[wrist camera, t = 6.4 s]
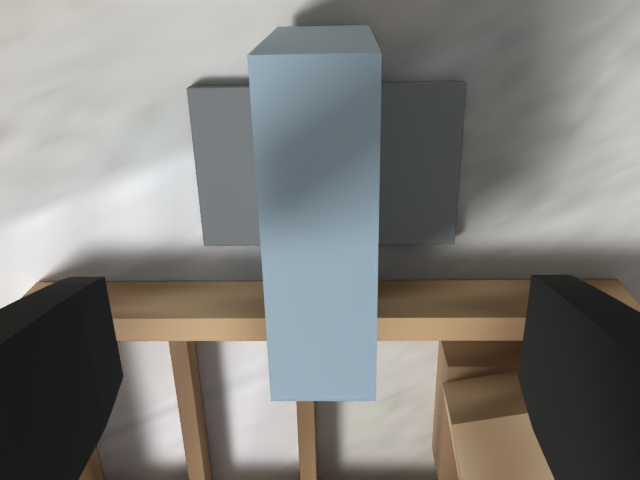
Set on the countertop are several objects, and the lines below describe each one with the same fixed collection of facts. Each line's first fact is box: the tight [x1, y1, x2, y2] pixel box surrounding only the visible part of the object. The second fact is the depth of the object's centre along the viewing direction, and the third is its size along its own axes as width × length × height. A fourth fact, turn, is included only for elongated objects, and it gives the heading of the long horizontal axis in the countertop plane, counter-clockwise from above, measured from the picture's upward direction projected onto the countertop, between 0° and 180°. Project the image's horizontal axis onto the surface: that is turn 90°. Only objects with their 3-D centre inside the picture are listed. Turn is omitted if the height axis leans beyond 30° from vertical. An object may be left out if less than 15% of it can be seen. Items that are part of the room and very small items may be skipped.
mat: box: [187, 81, 466, 246], centre depth 19 cm, size 8×5×1 cm, turn 91°
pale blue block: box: [247, 25, 382, 401], centre depth 16 cm, size 2×8×6 cm, turn 2°
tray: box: [22, 279, 640, 480], centre depth 21 cm, size 20×10×2 cm, turn 91°
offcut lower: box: [432, 341, 523, 480], centre depth 22 cm, size 4×5×2 cm
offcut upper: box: [442, 371, 554, 480], centre depth 20 cm, size 3×4×2 cm
